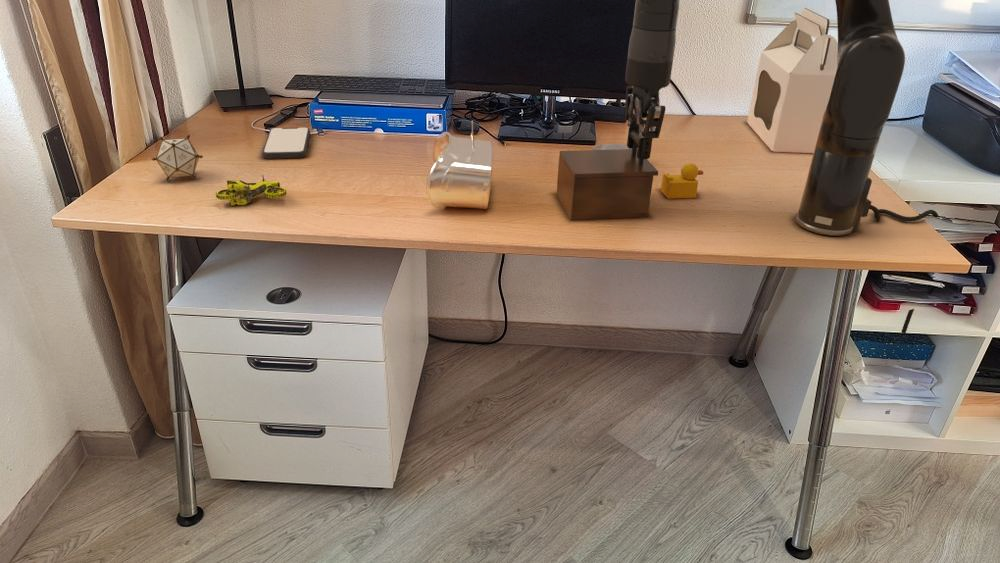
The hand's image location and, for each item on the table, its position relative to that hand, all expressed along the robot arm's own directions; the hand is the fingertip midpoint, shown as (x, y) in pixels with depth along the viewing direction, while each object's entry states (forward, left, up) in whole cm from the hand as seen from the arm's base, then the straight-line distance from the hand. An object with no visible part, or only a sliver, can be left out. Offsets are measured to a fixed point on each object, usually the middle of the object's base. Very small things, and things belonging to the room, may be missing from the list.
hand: (637, 152), depth 127 cm
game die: (+83, -20, -10) cm, 86 cm away
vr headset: (+31, -7, -10) cm, 34 cm away
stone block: (-2, -19, -10) cm, 22 cm away
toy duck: (-11, -4, -10) cm, 15 cm away
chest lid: (+5, 0, -2) cm, 6 cm away
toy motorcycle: (+68, -8, -10) cm, 70 cm away
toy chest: (+6, 0, -10) cm, 12 cm away
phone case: (+65, -37, -10) cm, 76 cm away
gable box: (-50, -35, -10) cm, 62 cm away
